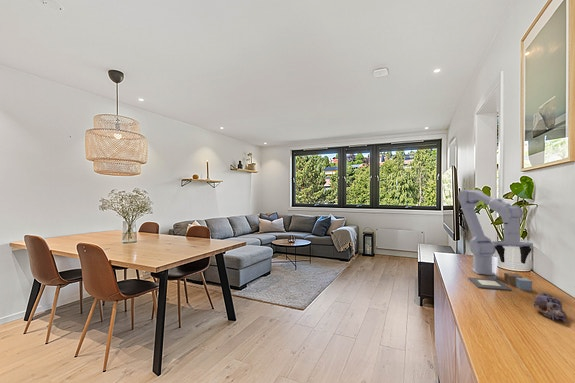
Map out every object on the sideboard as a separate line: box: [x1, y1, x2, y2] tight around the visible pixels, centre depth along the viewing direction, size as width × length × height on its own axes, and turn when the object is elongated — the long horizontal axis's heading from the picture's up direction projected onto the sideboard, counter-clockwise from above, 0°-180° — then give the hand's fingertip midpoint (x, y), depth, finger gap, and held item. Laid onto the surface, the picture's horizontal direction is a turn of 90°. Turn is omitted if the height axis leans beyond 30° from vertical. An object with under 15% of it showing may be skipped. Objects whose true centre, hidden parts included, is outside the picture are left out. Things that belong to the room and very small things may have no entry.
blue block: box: [515, 277, 533, 291], centre depth 115 cm, size 4×4×4 cm
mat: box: [468, 277, 513, 292], centre depth 120 cm, size 14×12×1 cm
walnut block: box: [503, 272, 524, 286], centre depth 121 cm, size 5×5×4 cm
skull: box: [533, 292, 567, 323], centre depth 89 cm, size 12×8×6 cm, turn 148°
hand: (512, 262), depth 122 cm, fingers open, 7 cm apart
